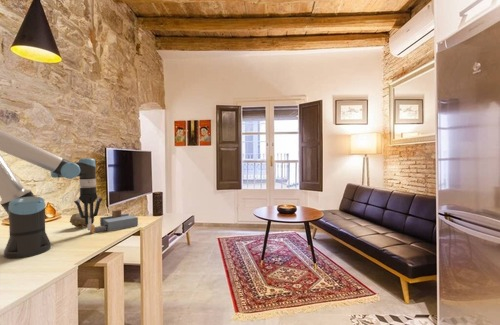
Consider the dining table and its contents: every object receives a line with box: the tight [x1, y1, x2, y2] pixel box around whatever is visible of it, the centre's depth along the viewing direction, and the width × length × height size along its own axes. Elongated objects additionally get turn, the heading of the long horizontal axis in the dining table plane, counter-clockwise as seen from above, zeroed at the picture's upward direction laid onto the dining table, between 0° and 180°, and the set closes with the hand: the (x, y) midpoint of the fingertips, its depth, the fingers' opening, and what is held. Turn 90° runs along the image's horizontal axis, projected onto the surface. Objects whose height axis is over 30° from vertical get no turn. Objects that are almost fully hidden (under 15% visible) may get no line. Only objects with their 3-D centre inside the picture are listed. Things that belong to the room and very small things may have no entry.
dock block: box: [99, 213, 139, 232], centre depth 151 cm, size 16×17×5 cm
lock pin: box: [89, 223, 108, 234], centre depth 142 cm, size 14×4×4 cm, turn 134°
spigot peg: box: [111, 208, 122, 218], centre depth 154 cm, size 4×4×9 cm
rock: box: [69, 210, 95, 228], centre depth 150 cm, size 12×10×10 cm
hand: (89, 229), depth 136 cm, fingers closed
